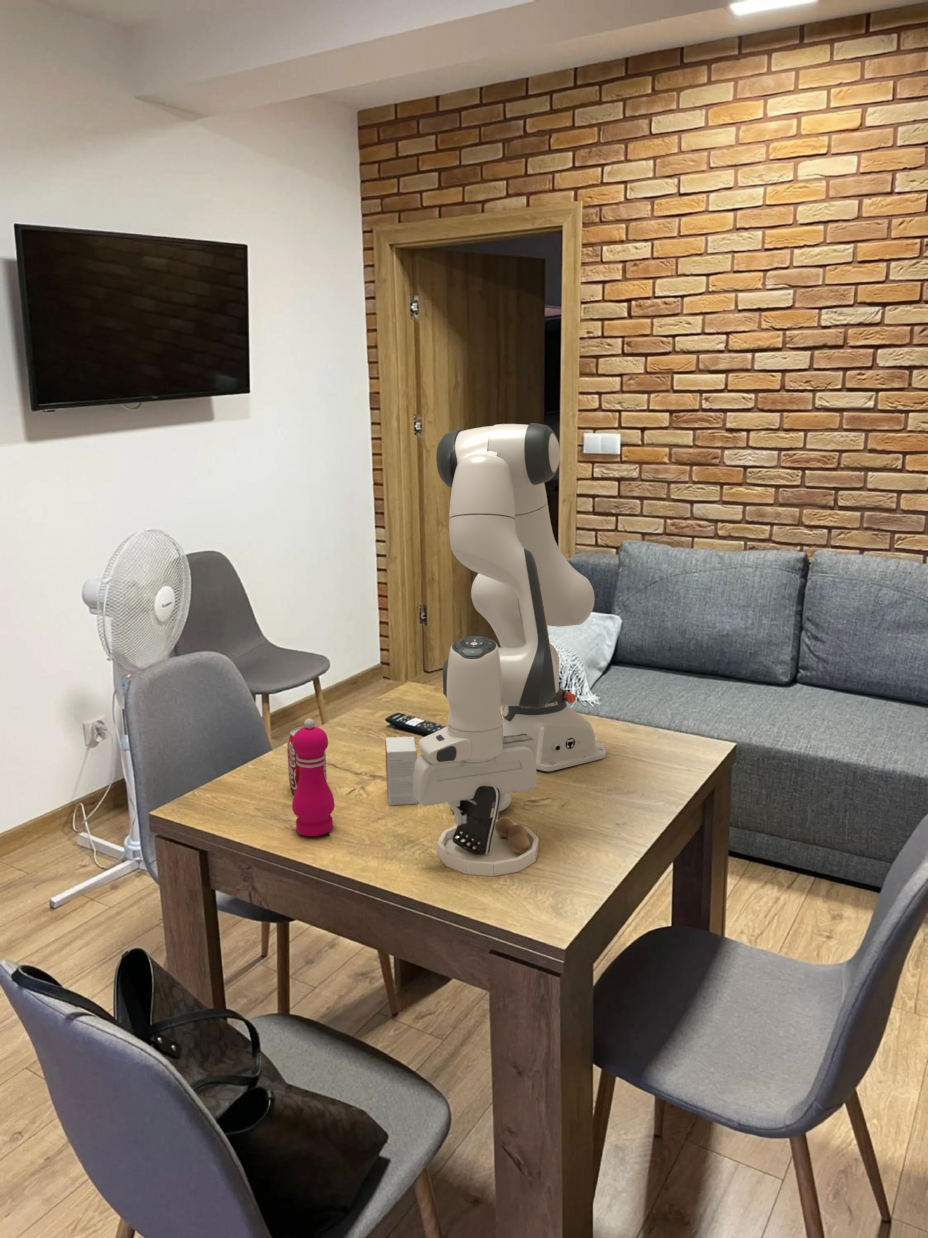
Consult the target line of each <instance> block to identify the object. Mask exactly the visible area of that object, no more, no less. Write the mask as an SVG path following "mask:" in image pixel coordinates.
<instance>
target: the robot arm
mask: <svg viewBox="0 0 928 1238" xmlns="http://www.w3.org/2000/svg"><path fill="white" fill-rule="evenodd" d="M435 455H436V460H435V461H436V468H437V472H438V475H439V477H440V479H441V481H442V482H443V483H444V485H446V486H447V487H449V488H451V491H450V499H449V511H448V512H449V514H448V518H449V519H448V531H449V532H448V535H449V545H450V549H451V552H452V554H453V556H454V557H455V558H456V559H457V560H458V562H460V564H462V565H463V566H464V567H466V568H467V569H469V570H470V571H472V572H474V573H477V575H476V576H475V578H474V580H473V582H472V584H471V591H470V595H471V596H470V598H471V601H472V604H473V607H474V608H475V610H476V611H477V612H478V613H479V614H480V615H481V616H482V617H483V618H484V619H485V620H486V621H487V622H488V624H489V625H490V626H491V628H492V629H493V631H494V634H495V635H496V638H497V640H498V643H499V645H500V647H499V646H498V644H497V642H496V641H495V640H493V639H491V638H490V637H485V636H481V635H480V636H478V635H477V636H476V635H471V636H466V637H462V638H459V639H457V640H455V641H454V642H453V643H452V644H451V646H450V649H449V653H448V658H446V660H445V661H444V662H443V666H442V690H443V691H442V693H443V695H444V696H445V698H446V700H447V702H448V706H449V707H448V708H449V709H448V710H449V711H448V712H449V713H448V716H447V721H446V722H447V723H446V724H447V725H446V726H445V727H443V728H441V729H439V730H437V731H435V732H432V733H430V734H428V735H426V736H424V737H421V738H420V739H419V740H418V750H419V752H420V755H418V756H417V760H416V763H415V767H414V776H413V794H414V797H415V799H416V800H417V801H418V804H420V805H421V806H422V807H427V806H434V805H441V804H446V803H447V805H448V806H449V807H450V809H451V810H452V812H453V814H454V823H455V825H457V826H459V825H465V824H467V821H466V819H467V815H466V814H465V813H464V811H459V810H458V809H457V807H459V806H460V801H461V800H467V799H473V797H474V795H475V792H476V790H477V788H479V787H480V786H490V787H493V786H494V787H496V788H498V789H499V792H500V800H499V807H498V810H499V809H500V807H501V805H502V803H503V802H504V800H505V794H506V793H510V794H512V793H517V792H518V793H519V792H524V791H525V792H526V791H530V790H533V789H534V788H535V787H536V786H537V783H538V774H537V772H538V771H537V770H539V771H542V772H543V771H544V772H553V771H556V770H561V769H565V768H568V767H573V766H577V765H582V764H585V763H590V762H595V761H598V760H602V759H605V758H606V757H607V749H606V748H605V746H604V745H603V744H602V743H600V742H599V741H598V740H596V737H595V731H594V728H593V725H592V724H591V722H590V721H588V720H587V719H586V718H585V717H584V716H582V715H580V714H579V713H578V712H577V711H576V710H574V709H573V708H572V707H570V706H569V705H568V704H574V703H575V702H576V701H577V695H575V694H574V693H572V692H571V691H566V690H564V689H563V688H561V687H560V682H559V681H560V678H559V677H560V673H559V672H560V657H559V653H558V651H557V649H556V647H555V646H554V645H553V644H552V643H551V642H550V637H549V629H548V627H549V626H550V627H557V628H558V627H570V626H572V627H573V626H577V625H578V626H579V625H582V624H583V623H585V621H586V620H587V619H588V618H589V617H590V616H591V614H592V612H593V610H594V606H595V592H594V588H593V586H592V584H591V582H590V580H589V579H588V578H587V577H586V576H584V575H583V574H581V573H580V571H579V572H578V570H576V569H575V568H574V567H573V565H571V563H569V561H568V560H567V558H565V555H564V554H563V552H562V551H561V550H560V548H559V546H558V543H557V542H556V540H555V539H556V538H555V536H554V532H553V527H552V523H551V517H550V516H551V515H550V511H549V505H548V504H549V503H548V497H547V491H546V485H545V483H547V482H549V481H550V480H552V479H553V478H554V476H555V475H557V472H558V470H559V469H558V468H559V464H560V461H561V449H560V443H559V441H558V438H557V434H556V433H555V431H554V430H553V429H552V428H551V427H550V426H549V425H546V424H542V423H536V422H535V423H534V422H531V423H529V424H522V423H521V424H520V423H519V424H518V423H501V424H494V425H489V426H481V427H474V428H470V429H466V430H463V429H462V428H460V429H455V430H453V431H449V432H448V433H447V432H446V433H445V434H444V435H443V436H442V438H441V439H440V440H439V442H438V443H437V447H436V454H435ZM567 703H568V704H567ZM456 806H457V807H456ZM496 820H499V812H497V817H496Z"/></svg>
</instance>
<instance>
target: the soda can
mask: <svg viewBox="0 0 928 1238" xmlns="http://www.w3.org/2000/svg"><path fill="white" fill-rule="evenodd" d="M303 727H305V726H304V725H303V726H299V727H295V728H293V729H291V730H290V732H289V737H288V739H287V741H286V742H287V743H286V745H287V747H286V748H287V766H288V767H287V770H288V780H289V787H290V789H289V790H291V792H292V793H294V794H295V791H296V789H297V786H298V783H299V776H300V769H299V766H298V765H297V763H296V762H297V759H296V756H297V755H298V754H297V753H296V752H295V750H294V749H293V745H292V741H293V737H294V735H295V733H296V732H297V731H298V730H299V729H301V728H303ZM324 753H325V754H326V750H325V751H324ZM325 759H326V760H327V756H326V757H325ZM324 776H325V779H326V780H328V779H327V761H326V762H325V764H324Z"/></svg>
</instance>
